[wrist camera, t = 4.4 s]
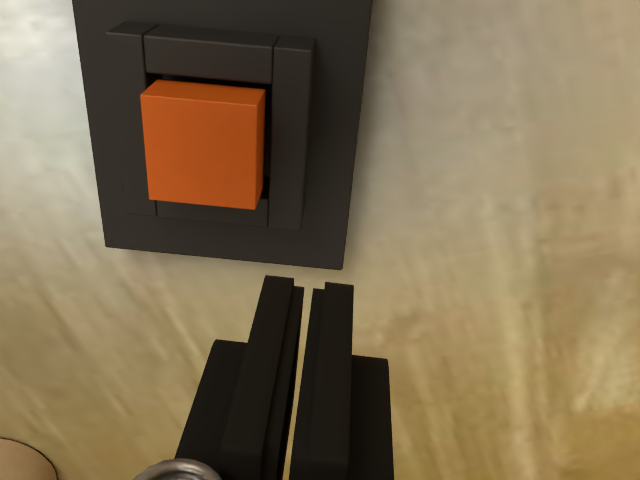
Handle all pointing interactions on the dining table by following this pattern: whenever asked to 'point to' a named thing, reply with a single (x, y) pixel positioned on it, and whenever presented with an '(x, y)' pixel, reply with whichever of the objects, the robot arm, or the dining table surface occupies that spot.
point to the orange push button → (242, 71)
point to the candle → (23, 463)
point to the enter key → (204, 143)
